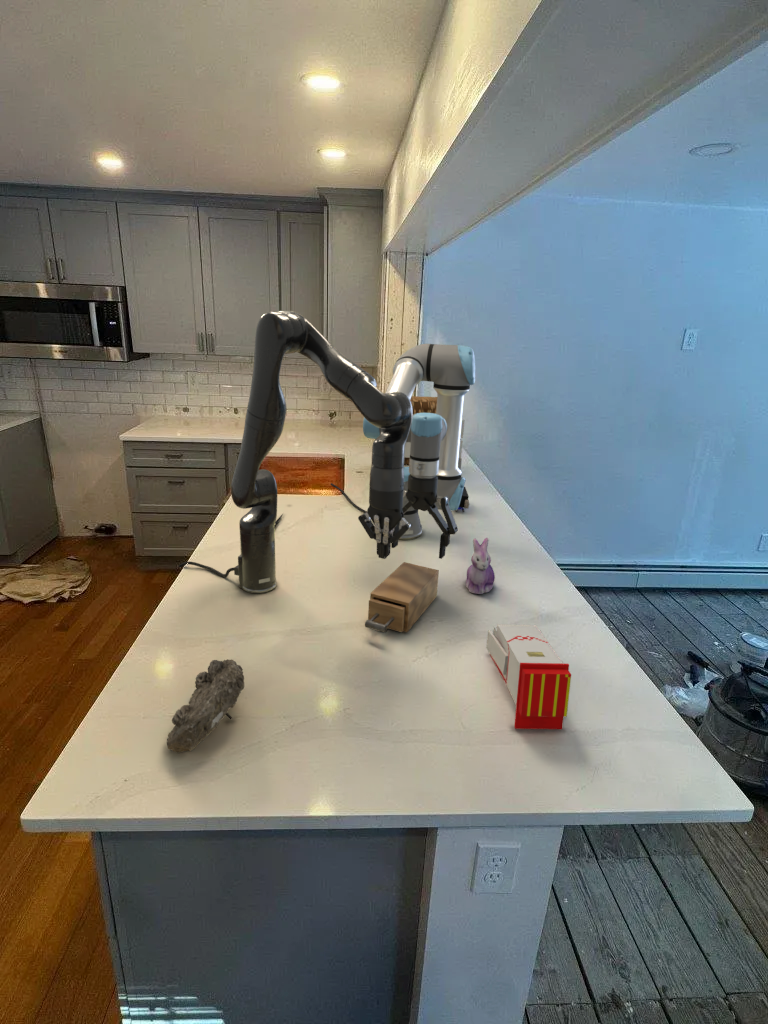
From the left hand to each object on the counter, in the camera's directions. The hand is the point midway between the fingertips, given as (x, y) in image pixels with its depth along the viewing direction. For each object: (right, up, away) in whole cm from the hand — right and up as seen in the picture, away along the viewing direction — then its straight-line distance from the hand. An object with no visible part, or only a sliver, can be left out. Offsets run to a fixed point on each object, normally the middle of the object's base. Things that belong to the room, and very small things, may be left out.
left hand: (383, 557), depth 130 cm
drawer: (+3, -16, +15) cm, 22 cm away
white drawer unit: (+17, +29, +145) cm, 149 cm away
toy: (+29, -27, -9) cm, 41 cm away
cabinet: (+6, -15, +20) cm, 26 cm away
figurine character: (+30, +12, +99) cm, 104 cm away
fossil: (-33, -29, -22) cm, 49 cm away
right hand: (+9, 0, +21) cm, 23 cm away
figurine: (+28, -12, +33) cm, 45 cm away
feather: (-38, +8, +80) cm, 89 cm away
